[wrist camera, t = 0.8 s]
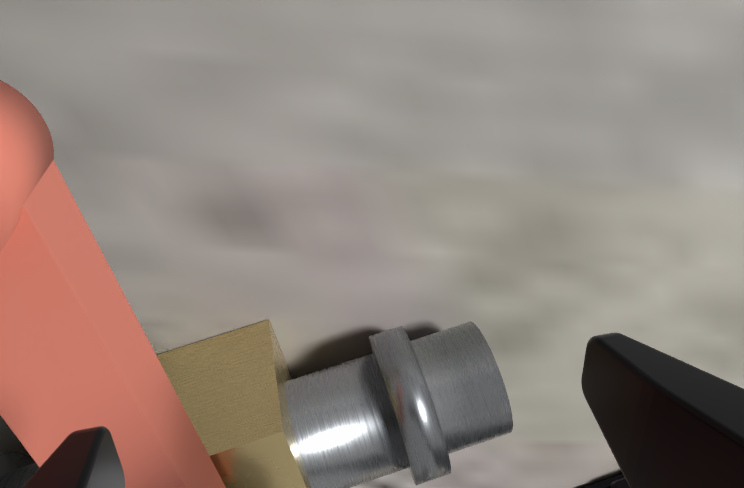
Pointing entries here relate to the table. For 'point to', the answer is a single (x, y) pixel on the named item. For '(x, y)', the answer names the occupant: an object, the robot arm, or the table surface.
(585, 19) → the table surface
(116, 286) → the lever
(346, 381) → the pipe valve
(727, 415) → the robot arm
